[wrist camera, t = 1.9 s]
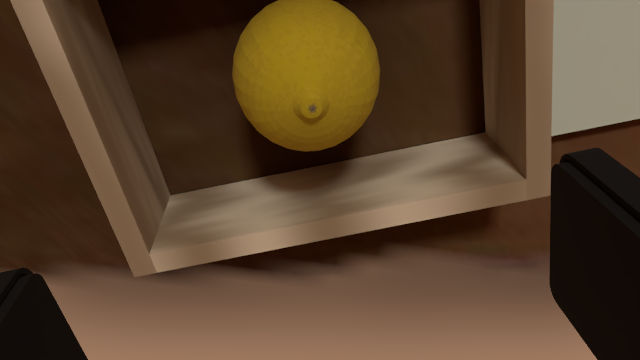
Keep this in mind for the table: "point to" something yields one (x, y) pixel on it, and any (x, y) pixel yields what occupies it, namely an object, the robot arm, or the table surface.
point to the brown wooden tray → (306, 184)
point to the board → (595, 64)
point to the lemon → (306, 73)
